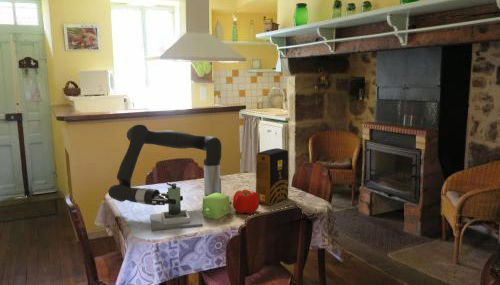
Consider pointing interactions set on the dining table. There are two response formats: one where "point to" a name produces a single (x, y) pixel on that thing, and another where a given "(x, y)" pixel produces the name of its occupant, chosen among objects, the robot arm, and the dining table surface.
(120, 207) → the dining table surface
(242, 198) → the tomato
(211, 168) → the robot arm
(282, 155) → the black and gold box
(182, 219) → the pad
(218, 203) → the gearbox
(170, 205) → the spout can
